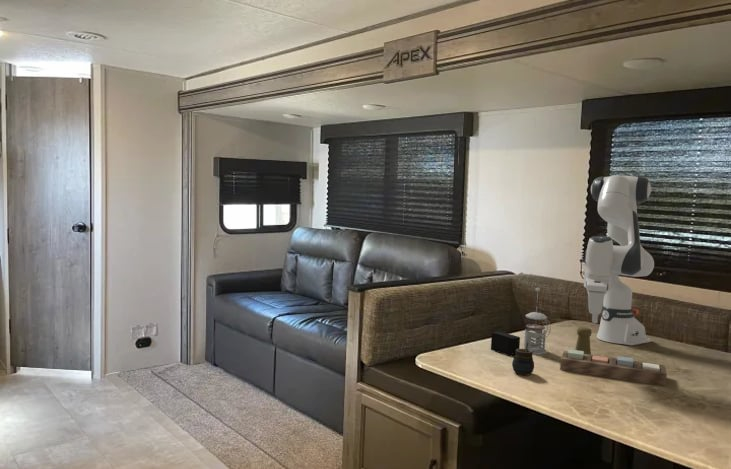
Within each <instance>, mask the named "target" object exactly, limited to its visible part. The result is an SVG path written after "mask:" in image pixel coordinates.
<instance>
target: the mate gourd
mask: <svg viewBox="0 0 731 469" xmlns="http://www.w3.org/2000/svg"><path fill="white" fill-rule="evenodd" d="M527 347H528V343H526V349H522V348H519V349H516V352H515V353H516V354H515V356H513V359H512V363H511V365H512V369H513V371H514V373H515V374H517V375H520V376H530V375H531V374H532V373H533V372H534V369H535V362H534V358H533V355H534V354H533V352H532V351H531V350H528V349H527Z"/></svg>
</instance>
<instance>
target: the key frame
mask: <svg viewBox="0 0 731 469" xmlns="http://www.w3.org/2000/svg"><path fill="white" fill-rule="evenodd" d="M568 351H569V350H568ZM568 351H567V350H563V352H562V354H561V357H560V364H559V370H560V371H565V372H573V373H578V374H586V375H591V376H597V377H604V378H611V379H617V380H618V379H619V380H623V381H629V382H630V381H631V382H635V383H636V382H637V383H642V384H649V385H655V386H662V387H666V386H667V376H668V375H667V374H668V373H667V369H666V365H664V364H658V363H655V364H656V365H659V368H660V371H655V370H648V369H642V365H643V363H646V361H645V362H643V361H637V360H633V367H628V366H621V365H617V357H609V356H607V357H608V363H601V362H594V361H592V357H593V355H594V356H597V355H595V354H591V355H589V354H584V358H583V360H581V359H574V358H568ZM600 356H601V355H600ZM601 357H604V356H603V355H602V356H601ZM648 363H649V364H653V363H650V362H648Z"/></svg>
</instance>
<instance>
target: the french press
mask: <svg viewBox="0 0 731 469" xmlns="http://www.w3.org/2000/svg"><path fill="white" fill-rule="evenodd" d="M534 290H535V291H536V292H537V294H536V296H537V297H536V302H538V301H539V300H538V299H539V298H538V297H539V292H541V288H540V287H536V288H535V289H534ZM525 318H527V319H530V320H535V321H541V323H542V324H546V326H544V325H540V324H537V323H535V324H534V323H533V324H531V323H529V324H526V326H525V327H526V328H525V329H524V340H523V347H522V348H521V349H526V343H528V347H527V349H528V350H531V351H532V352H533V355H535V356H537V355H538V356H539V355H541V356H542V355H547V354H548V351H547V350H546V338H548V336H549V335H550V333H551V327H552V326H551V323H550V321H549V320H548V316H547V315H545V314H544V313H541V312H538V307H536V310H535V311H532V312H529V313H527V314H525ZM548 324H549V325H548ZM548 328H549V329H548ZM545 329H546V330H545ZM548 330H549V331H548ZM547 333H548V334H547ZM546 334H547V335H546Z"/></svg>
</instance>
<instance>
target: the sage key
mask: <svg viewBox="0 0 731 469" xmlns="http://www.w3.org/2000/svg"><path fill="white" fill-rule="evenodd" d="M568 358H574V359H581V360H583V358H584V351H579V350H575V349H570V348H569V349H568Z"/></svg>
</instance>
